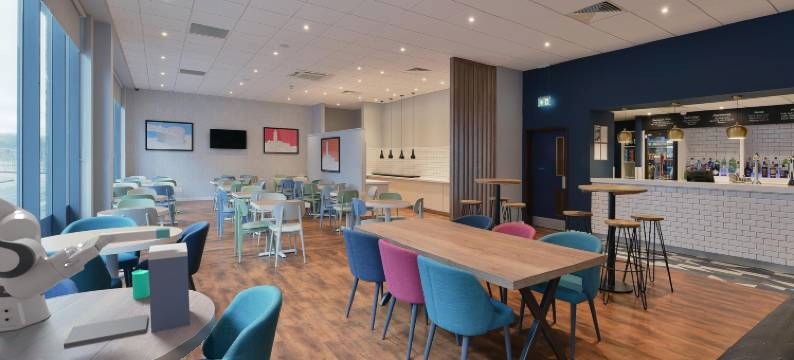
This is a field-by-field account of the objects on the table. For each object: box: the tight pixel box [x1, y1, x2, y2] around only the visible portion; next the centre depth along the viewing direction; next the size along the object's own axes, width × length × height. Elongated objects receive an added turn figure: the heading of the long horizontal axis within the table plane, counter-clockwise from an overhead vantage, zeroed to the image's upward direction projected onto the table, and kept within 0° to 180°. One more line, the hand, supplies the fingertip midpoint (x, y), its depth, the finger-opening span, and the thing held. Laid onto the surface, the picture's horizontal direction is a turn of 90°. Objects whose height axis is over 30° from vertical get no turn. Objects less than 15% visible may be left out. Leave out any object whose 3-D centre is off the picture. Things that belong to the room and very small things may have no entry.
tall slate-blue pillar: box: [147, 242, 191, 333], centre depth 143 cm, size 12×16×26 cm
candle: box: [131, 269, 150, 300], centre depth 168 cm, size 6×6×12 cm
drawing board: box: [63, 314, 149, 348], centre depth 135 cm, size 22×14×1 cm, turn 119°
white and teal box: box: [98, 227, 171, 244], centre depth 138 cm, size 20×4×3 cm, turn 120°
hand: (113, 236), depth 134 cm, fingers closed on white and teal box, 3 cm apart
